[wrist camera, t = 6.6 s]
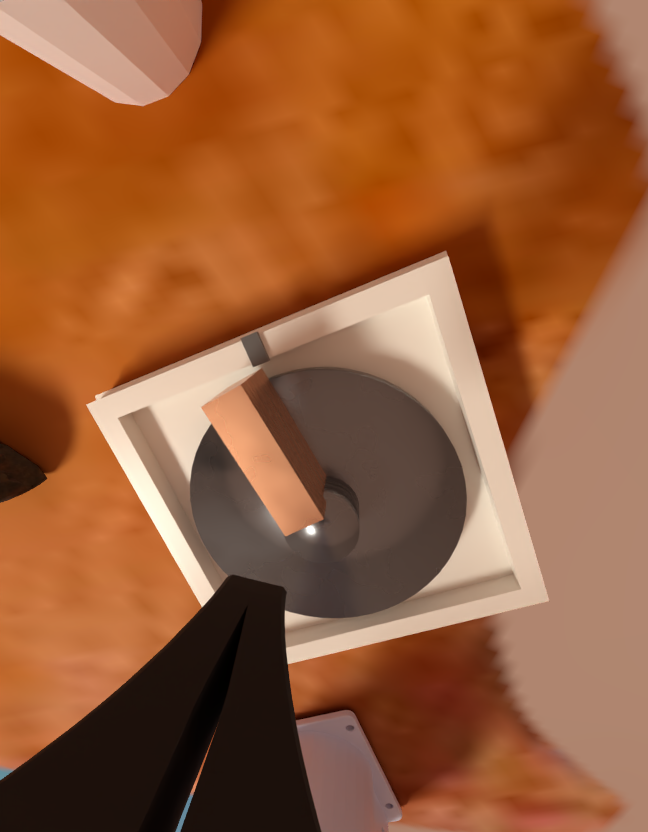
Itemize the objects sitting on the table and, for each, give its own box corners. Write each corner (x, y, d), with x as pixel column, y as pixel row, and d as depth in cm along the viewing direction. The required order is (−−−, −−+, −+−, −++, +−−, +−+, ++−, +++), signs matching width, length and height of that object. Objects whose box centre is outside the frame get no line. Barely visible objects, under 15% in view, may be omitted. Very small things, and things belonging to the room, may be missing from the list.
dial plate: (534, 570, 20) (557, 606, 18) (250, 643, 23) (238, 682, 21) (439, 253, 16) (453, 247, 14) (110, 389, 19) (76, 403, 17)
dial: (504, 550, 18) (541, 614, 15) (281, 637, 21) (265, 710, 17) (379, 300, 15) (386, 303, 12) (139, 436, 18) (83, 472, 14)
